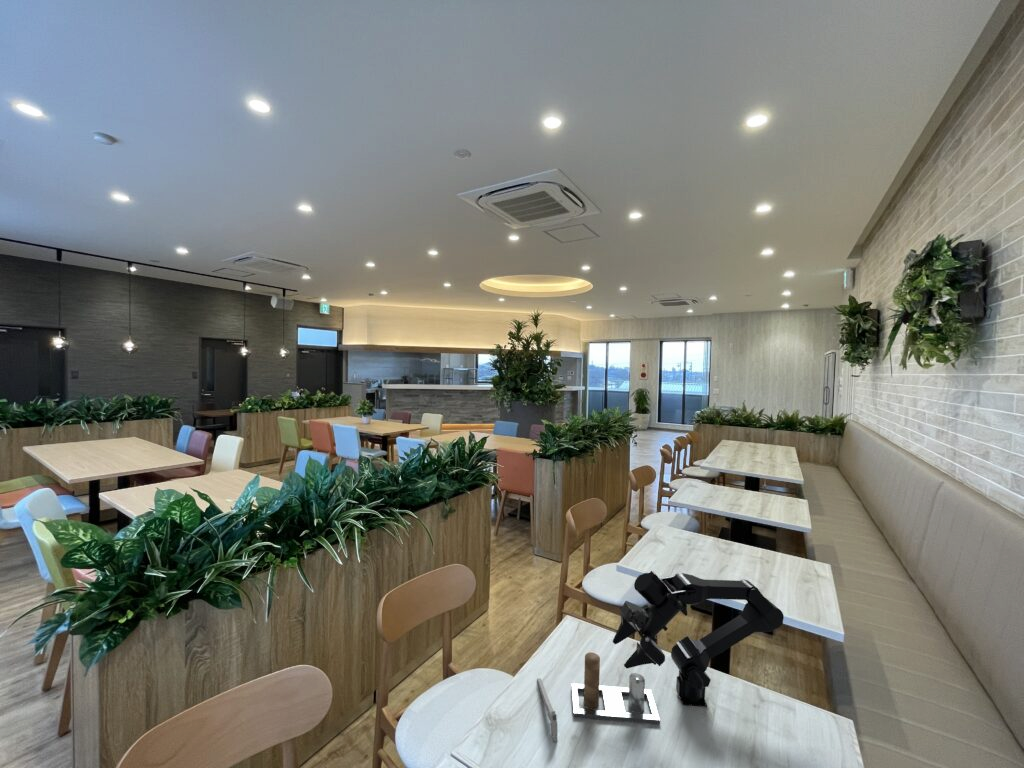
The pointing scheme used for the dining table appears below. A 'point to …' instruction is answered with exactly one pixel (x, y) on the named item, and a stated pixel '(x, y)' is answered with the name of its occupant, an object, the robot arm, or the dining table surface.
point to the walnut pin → (591, 680)
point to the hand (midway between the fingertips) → (619, 654)
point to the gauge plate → (614, 706)
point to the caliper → (549, 710)
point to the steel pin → (636, 692)
